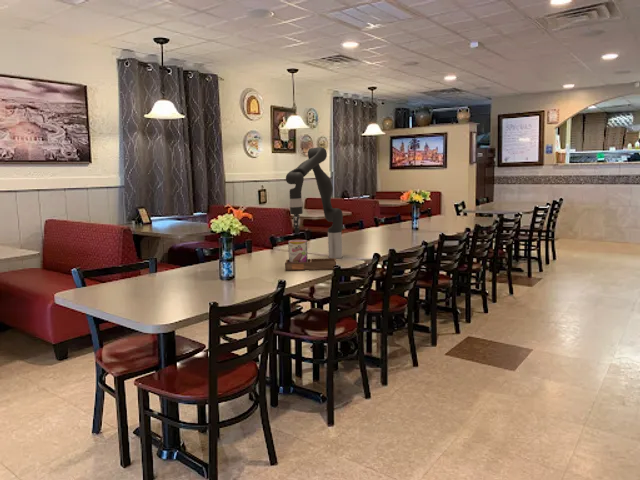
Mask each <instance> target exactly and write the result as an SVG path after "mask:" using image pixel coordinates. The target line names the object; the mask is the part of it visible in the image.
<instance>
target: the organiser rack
mask: <svg viewBox="0 0 640 480" xmlns="http://www.w3.org/2000/svg"><path fill="white" fill-rule="evenodd" d="M335 265H336V266H337V258H329V257H328V258H308V262H292V263H289V259H286V260H285V263H284V268H285V269H284V271H285V272H301V271H302V272H304V271H305V270H309V271H334V270H333V266H335Z"/></svg>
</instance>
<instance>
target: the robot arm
mask: <svg viewBox="0 0 640 480" xmlns="http://www.w3.org/2000/svg"><path fill="white" fill-rule="evenodd" d="M327 156H328V152H327V150H326V148H324V147H322V146H319V147H311V148H309V149H308V150H307V158H308V159H306V160H305V161H303V162H302V163H300V164H299V165H298V166H297V167H295V168H294V169H292V170H290V171H288V172H287V174H286V177H285V182H286V183H287V184H289V185H295V186H294V188H293V187H292V188H290V189H289V213H290V215H294V216H293V217H292V220H293V228H294V234H295V235H298V234H299V233H300V224H301V217H300V215H303V201H302V200H303V199H302V198H303V197H302V190H303V184H304V177H306V176H307V174H309V173H310V171H312V172H313V174H314V178H315V182H316V186H317V190H318V192H319V196H320V199H321V203H322V209H323V214H324V217H325V220H326V221H327V222H329V223H332V224H331V226H330V227H328V228H327V239H328V240H327V245H328V246H327V247H328V248H327V249H328V251H327V252H328V258H336V259H342V257H343V239H342V238H343V237H342V231H343V219H344V215H343V210H342V209H340V208H338V207H335V208H334V207H333V206H332V201H331V200H332V195H333V190H334V187H333V184H332V180H331V178H330V177H329V176H328V174H327V173H326V172H324V170H323V169H322V167H321V166H320V164H321V163H323V162H324V161H326V160H327Z"/></svg>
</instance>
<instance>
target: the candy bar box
mask: <svg viewBox="0 0 640 480" xmlns="http://www.w3.org/2000/svg"><path fill="white" fill-rule="evenodd" d="M287 245H288V260H289V263H292V262H308V259H309V258H308V257H309V255H308V254H309V253H308V240H307V239H301V240H299V239H295V240H293V239H292V240H288V243H287Z"/></svg>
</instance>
